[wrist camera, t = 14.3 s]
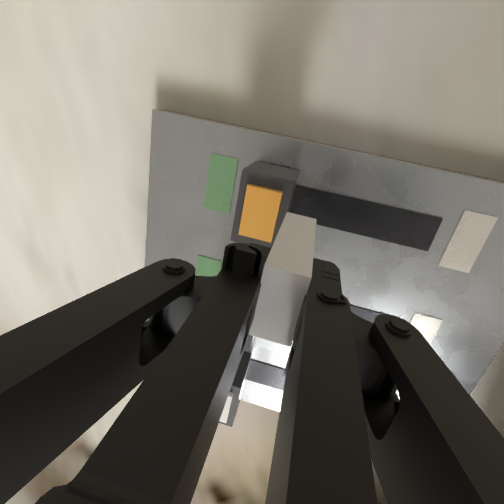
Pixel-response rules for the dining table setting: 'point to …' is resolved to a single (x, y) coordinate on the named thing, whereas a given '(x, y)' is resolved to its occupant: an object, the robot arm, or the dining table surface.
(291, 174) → the orange and grey switch
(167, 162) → the panel
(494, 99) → the dining table surface
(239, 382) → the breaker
